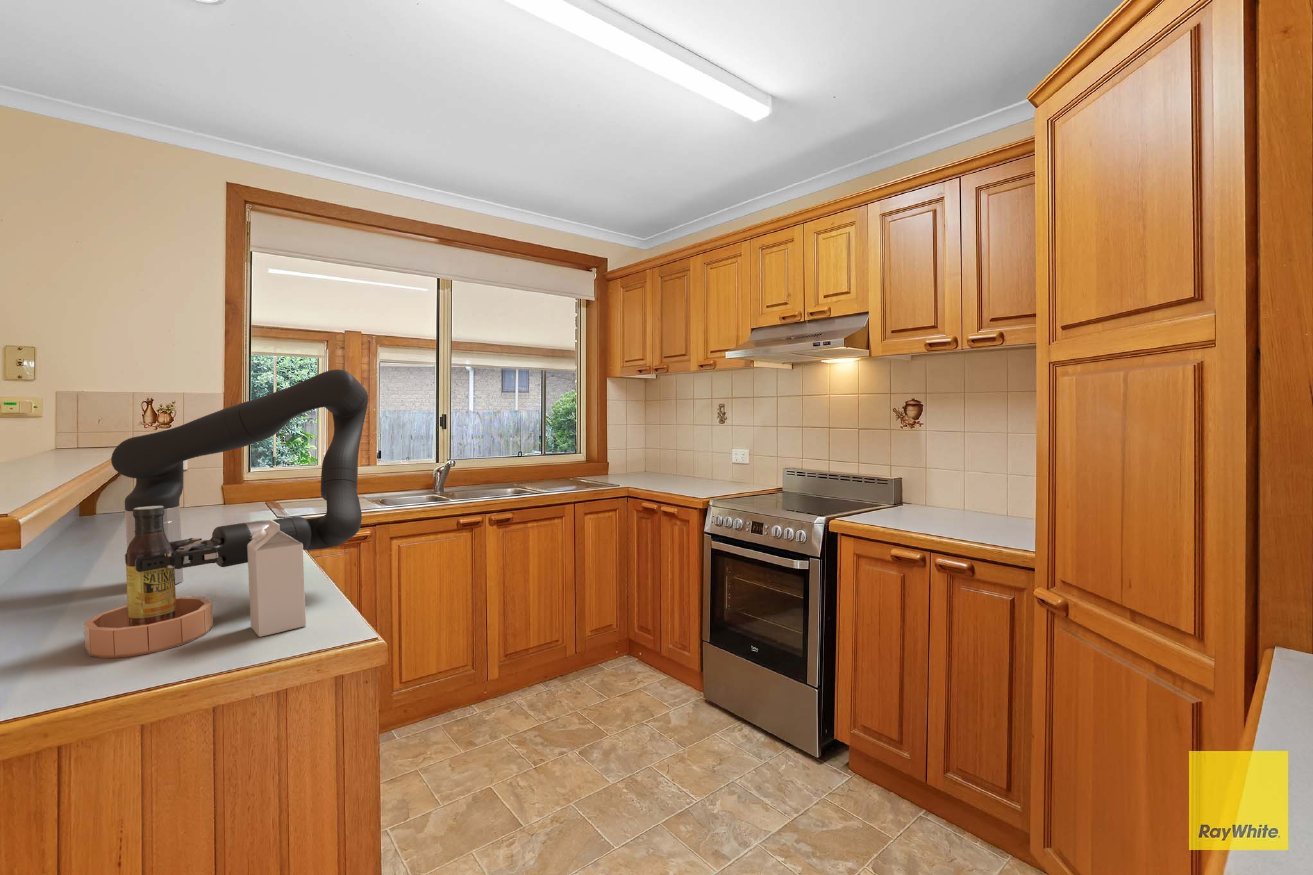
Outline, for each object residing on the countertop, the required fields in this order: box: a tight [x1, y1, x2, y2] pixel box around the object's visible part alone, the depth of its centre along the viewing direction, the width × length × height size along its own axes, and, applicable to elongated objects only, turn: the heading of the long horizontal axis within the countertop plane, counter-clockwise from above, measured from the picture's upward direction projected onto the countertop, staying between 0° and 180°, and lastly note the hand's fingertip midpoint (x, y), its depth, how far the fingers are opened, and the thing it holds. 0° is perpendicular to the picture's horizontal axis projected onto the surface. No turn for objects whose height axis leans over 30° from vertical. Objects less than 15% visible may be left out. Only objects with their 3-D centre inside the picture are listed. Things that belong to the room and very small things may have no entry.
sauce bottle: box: [125, 506, 177, 627], centre depth 100 cm, size 7×6×20 cm
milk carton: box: [247, 518, 307, 638], centre depth 104 cm, size 7×7×19 cm
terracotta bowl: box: [83, 596, 214, 659], centre depth 100 cm, size 16×16×4 cm
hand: (131, 562), depth 98 cm, fingers closed on sauce bottle, 6 cm apart
